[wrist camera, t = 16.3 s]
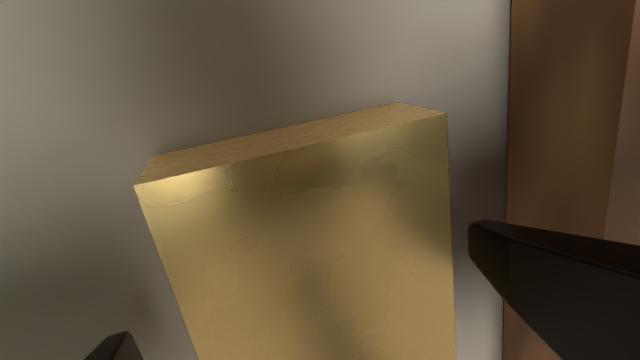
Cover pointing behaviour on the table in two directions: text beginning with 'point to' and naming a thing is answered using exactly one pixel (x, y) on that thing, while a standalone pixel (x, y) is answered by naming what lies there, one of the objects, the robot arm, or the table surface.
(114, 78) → the table surface
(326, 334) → the gold metal plate
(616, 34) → the body
